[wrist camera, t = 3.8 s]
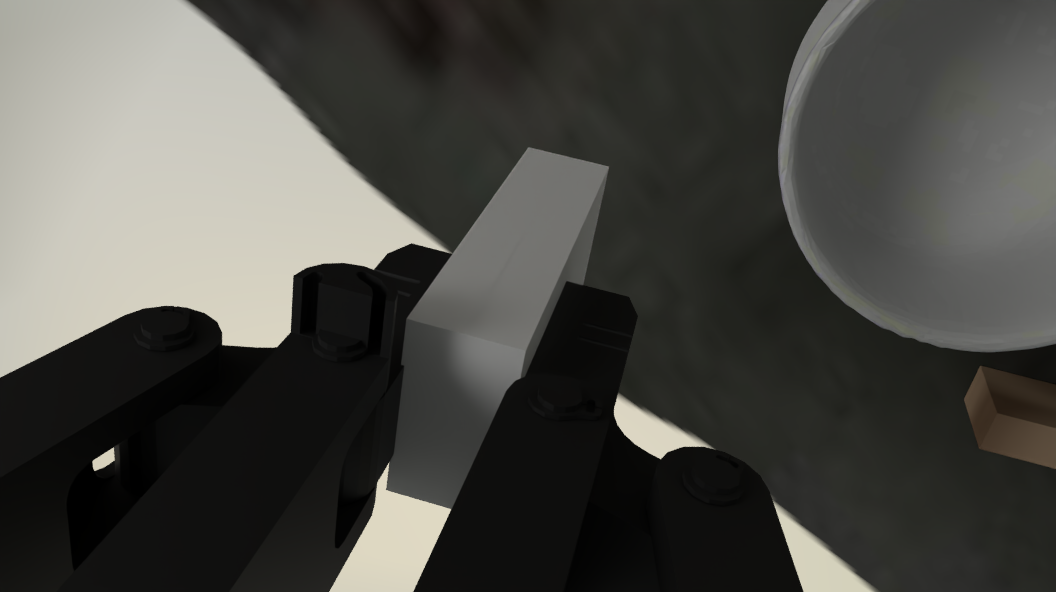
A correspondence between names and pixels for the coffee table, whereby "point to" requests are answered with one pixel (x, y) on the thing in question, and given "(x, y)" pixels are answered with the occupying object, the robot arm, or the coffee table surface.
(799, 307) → the coffee table surface
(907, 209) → the teacup
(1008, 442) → the slot rails
